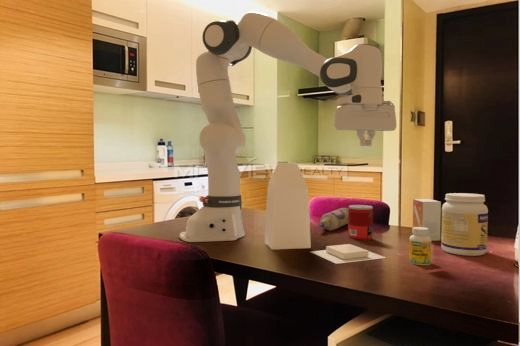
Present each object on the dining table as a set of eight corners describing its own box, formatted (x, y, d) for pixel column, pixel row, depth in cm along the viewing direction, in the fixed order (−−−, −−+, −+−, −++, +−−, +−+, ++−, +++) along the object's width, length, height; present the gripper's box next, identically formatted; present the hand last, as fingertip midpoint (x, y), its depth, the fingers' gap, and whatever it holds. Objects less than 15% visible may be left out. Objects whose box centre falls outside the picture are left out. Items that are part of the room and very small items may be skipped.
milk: (300, 241, 138) (301, 162, 136) (310, 249, 126) (311, 163, 125) (264, 243, 135) (264, 162, 134) (271, 251, 124) (271, 163, 123)
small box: (412, 235, 147) (412, 198, 146) (429, 235, 147) (430, 198, 146) (421, 240, 139) (422, 201, 138) (440, 240, 139) (441, 201, 138)
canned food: (373, 241, 138) (373, 208, 137) (348, 240, 139) (348, 207, 139) (371, 236, 145) (372, 205, 145) (348, 235, 147) (348, 204, 146)
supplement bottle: (430, 262, 111) (431, 227, 111) (431, 268, 106) (431, 230, 106) (409, 261, 113) (409, 225, 113) (408, 266, 108) (409, 229, 108)
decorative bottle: (336, 222, 174) (336, 206, 174) (353, 224, 170) (354, 208, 170) (308, 233, 152) (309, 214, 152) (328, 235, 148) (328, 216, 148)
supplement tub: (486, 259, 116) (488, 197, 115) (438, 253, 122) (439, 195, 121) (487, 249, 126) (488, 193, 125) (443, 245, 132) (444, 191, 131)
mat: (336, 265, 108) (336, 263, 108) (309, 253, 121) (309, 251, 121) (386, 259, 115) (386, 257, 115) (356, 248, 127) (356, 246, 127)
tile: (343, 253, 112) (368, 250, 115) (326, 246, 120) (349, 243, 123) (343, 259, 112) (368, 256, 115) (325, 252, 121) (349, 249, 124)
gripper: (387, 102, 133) (387, 146, 134) (332, 99, 125) (331, 145, 126) (401, 100, 127) (400, 145, 128) (343, 96, 119) (343, 145, 120)
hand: (365, 145), depth 127 cm, fingers closed
